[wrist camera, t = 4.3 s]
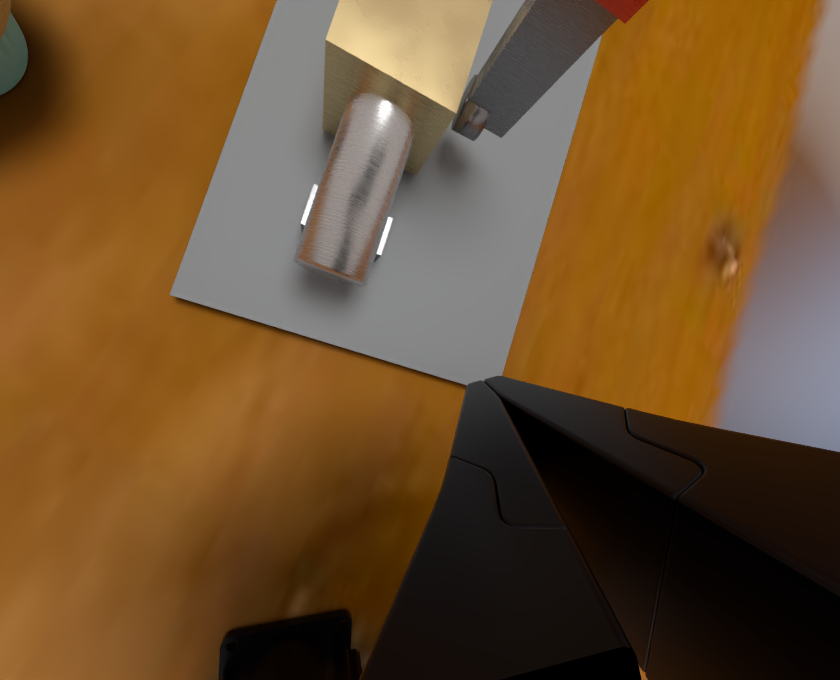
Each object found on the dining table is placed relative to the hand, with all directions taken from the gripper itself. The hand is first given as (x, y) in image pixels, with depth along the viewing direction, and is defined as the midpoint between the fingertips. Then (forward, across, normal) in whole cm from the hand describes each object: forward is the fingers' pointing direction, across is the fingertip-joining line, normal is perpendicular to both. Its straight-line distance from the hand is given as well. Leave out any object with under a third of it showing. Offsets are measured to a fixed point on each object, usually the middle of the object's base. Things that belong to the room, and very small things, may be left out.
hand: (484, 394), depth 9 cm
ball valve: (+16, 0, +8) cm, 18 cm away
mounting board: (+16, +2, +7) cm, 17 cm away
